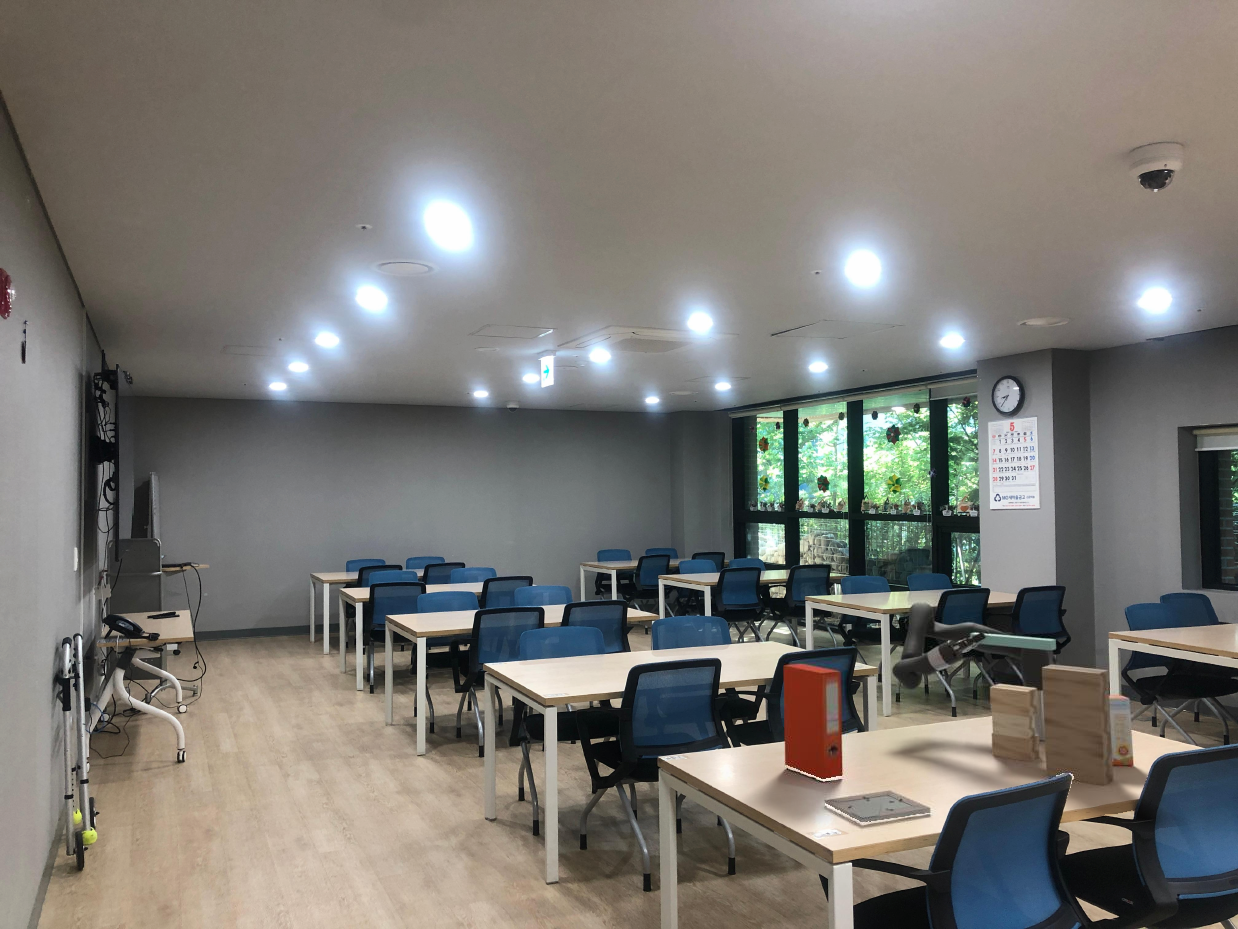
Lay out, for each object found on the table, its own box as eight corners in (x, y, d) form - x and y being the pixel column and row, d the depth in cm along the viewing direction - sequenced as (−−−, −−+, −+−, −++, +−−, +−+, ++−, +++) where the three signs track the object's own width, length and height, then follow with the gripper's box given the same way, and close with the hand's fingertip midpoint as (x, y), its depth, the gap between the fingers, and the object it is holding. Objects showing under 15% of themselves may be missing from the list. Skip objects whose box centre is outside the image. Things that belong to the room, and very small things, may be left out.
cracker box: (1125, 761, 280) (1121, 694, 281) (1134, 766, 274) (1130, 698, 275) (1079, 760, 281) (1076, 694, 283) (1087, 765, 275) (1084, 697, 277)
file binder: (805, 765, 279) (802, 663, 281) (843, 779, 264) (840, 671, 266) (785, 769, 275) (782, 665, 278) (822, 783, 260) (820, 673, 262)
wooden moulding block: (1055, 769, 271) (1051, 664, 273) (1113, 780, 260) (1107, 670, 262) (1046, 775, 266) (1041, 667, 268) (1104, 786, 254) (1099, 673, 257)
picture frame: (862, 827, 224) (930, 816, 231) (862, 817, 224) (930, 807, 232) (824, 808, 239) (889, 798, 247) (824, 799, 239) (889, 789, 247)
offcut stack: (1002, 750, 295) (999, 683, 296) (1039, 757, 286) (1036, 688, 288) (992, 755, 289) (989, 687, 290) (1030, 762, 280) (1027, 691, 282)
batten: (975, 641, 300) (975, 632, 301) (1056, 649, 282) (1055, 639, 282) (970, 642, 298) (970, 633, 298) (1051, 650, 279) (1051, 640, 279)
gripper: (959, 663, 309) (1001, 642, 299) (941, 668, 299) (984, 646, 289) (948, 643, 312) (989, 622, 302) (930, 647, 302) (972, 625, 292)
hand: (986, 634), depth 296 cm, fingers closed on batten, 4 cm apart
